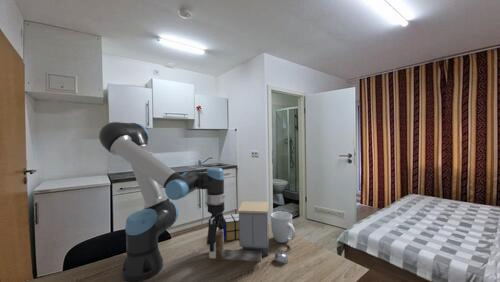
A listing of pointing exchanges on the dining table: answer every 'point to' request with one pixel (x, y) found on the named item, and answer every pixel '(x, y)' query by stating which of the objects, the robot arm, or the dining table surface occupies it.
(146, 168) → the robot arm
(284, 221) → the mug
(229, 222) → the puzzle cube
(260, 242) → the grey cabinet
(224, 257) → the tan block on post
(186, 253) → the dining table surface
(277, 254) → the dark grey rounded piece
